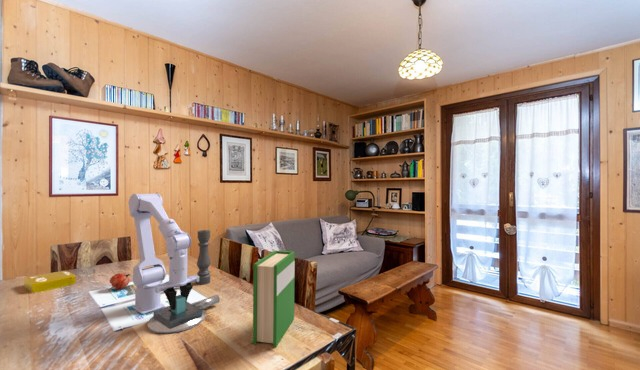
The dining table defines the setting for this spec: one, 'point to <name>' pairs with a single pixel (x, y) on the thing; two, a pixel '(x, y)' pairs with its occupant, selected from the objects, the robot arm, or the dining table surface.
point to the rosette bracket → (180, 317)
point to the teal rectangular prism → (179, 305)
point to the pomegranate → (119, 281)
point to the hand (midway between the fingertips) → (178, 307)
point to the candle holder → (203, 257)
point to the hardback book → (273, 296)
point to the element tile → (50, 281)
